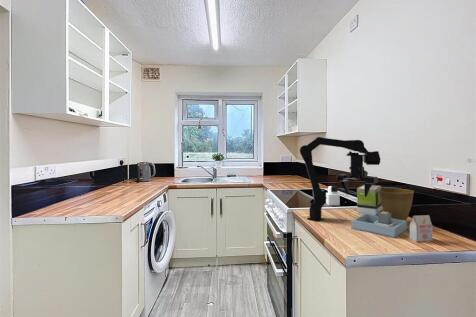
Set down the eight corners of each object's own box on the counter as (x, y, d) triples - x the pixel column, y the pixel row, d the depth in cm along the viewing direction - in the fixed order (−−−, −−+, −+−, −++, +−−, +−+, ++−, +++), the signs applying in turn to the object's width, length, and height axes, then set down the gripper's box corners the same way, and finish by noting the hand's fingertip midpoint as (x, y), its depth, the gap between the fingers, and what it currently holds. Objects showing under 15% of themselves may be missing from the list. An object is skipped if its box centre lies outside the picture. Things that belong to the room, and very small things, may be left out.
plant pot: (407, 219, 137) (407, 188, 137) (418, 227, 123) (418, 193, 122) (375, 217, 141) (375, 187, 141) (382, 225, 127) (382, 192, 126)
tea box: (363, 208, 163) (363, 184, 162) (382, 210, 156) (382, 185, 156) (356, 213, 151) (356, 187, 150) (376, 216, 145) (376, 189, 144)
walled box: (394, 238, 110) (394, 228, 109) (351, 228, 123) (351, 220, 123) (406, 229, 120) (406, 220, 120) (365, 221, 134) (366, 213, 134)
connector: (387, 230, 117) (388, 213, 117) (378, 228, 120) (378, 212, 120) (391, 228, 120) (391, 212, 119) (381, 226, 123) (381, 210, 122)
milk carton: (409, 239, 109) (409, 214, 108) (424, 238, 109) (425, 214, 109) (416, 242, 105) (416, 217, 104) (432, 241, 106) (432, 216, 105)
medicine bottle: (336, 203, 178) (336, 185, 178) (339, 205, 171) (339, 187, 170) (325, 203, 179) (325, 185, 178) (328, 205, 172) (328, 187, 171)
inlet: (390, 232, 115) (390, 225, 115) (373, 228, 120) (373, 222, 120) (395, 229, 120) (395, 222, 119) (379, 225, 125) (379, 219, 124)
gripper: (382, 164, 133) (382, 195, 133) (346, 163, 146) (346, 191, 147) (373, 166, 125) (373, 199, 126) (336, 164, 139) (336, 194, 140)
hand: (356, 195), depth 135 cm, fingers open, 9 cm apart
